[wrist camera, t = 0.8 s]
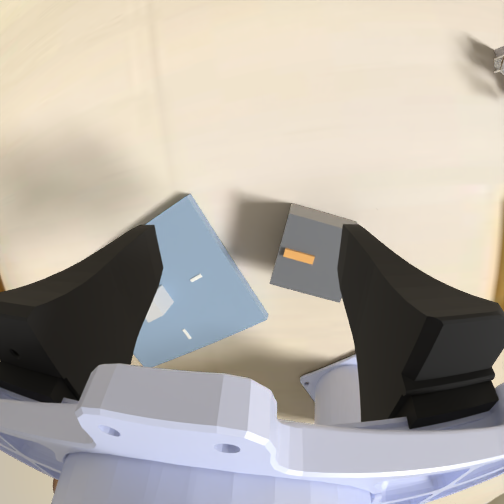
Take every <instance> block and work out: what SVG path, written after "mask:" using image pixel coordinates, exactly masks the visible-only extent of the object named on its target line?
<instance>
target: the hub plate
mask: <svg viewBox="0 0 504 504" xmlns="http://www.w3.org/2000/svg"><path fill="white" fill-rule="evenodd" d="M145 225H155V230H156V235H157V240H158V245H159V249H160V254H161V259H162V263H163V272H162V276H161V279H160V283H159V286H158V289H157V292H156V294H155V297H154V299H153V301H152V304H151V306H150V308H149V311H148V313H147V315H146V318H145V320H144V322H143V325H142V327H141V329H140V332H139V335H138V338H137V341H136V345H135V348H134V352H133V354H134V355H135V357H136V358H137V359H138V360H139V361H140V363H141V364H142V365H143V366H144V367H154V366H157V365H159V364H162V363H164V362H167V361H170V360H172V359H175V358H177V357H180V356H182V355H185V354H187V353H190V352H192V351H195V350H197V349H200V348H202V347H205V346H207V345H209V344H212V343H214V342H217V341H219V340H221V339H224V338H226V337H228V336H231V335H233V334H235V333H238V332H240V331H242V330H245V329H247V328H249V327H252V326H254V325H256V324H258V323H261V322H263V321H265V320H267V317H268V313H267V312H266V310H265V309H264V307H263V306H262V304H261V303H260V301H259V300H258V298H257V296H256V295H255V293H254V292H253V290H252V289H251V287H250V286H249V284H248V283H247V281H246V280H245V278H244V277H243V275H242V273H241V272H240V270H239V269H238V267H237V266H236V264H235V263H234V261H233V260H232V258H231V256H230V255H229V253H228V252H227V250H226V249H225V247H224V246H223V244H222V242H221V241H220V239H219V238H218V236H217V235H216V233H215V231H214V230H213V228H212V227H211V225H210V224H209V222H208V220H207V219H206V217H205V216H204V214H203V213H202V211H201V209H200V208H199V206H198V205H197V203H196V202H195V200H194V198H193V197H192V195H191V194H189V195H187V196H186V197H184V198H183V199H181V200H180V201H178V202H177V203H175V204H174V205H172V206H171V207H170V208H168V209H167V210H165V211H164V212H162V213H161V214H159V215H158V216H157V217H155V218H154V219H152V220H151V221H150V222H148V223H147V224H145Z"/></svg>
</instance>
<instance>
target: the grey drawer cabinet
mask: <svg viewBox="0 0 504 504" xmlns="http://www.w3.org/2000/svg"><path fill="white" fill-rule="evenodd" d="M343 224H357V222H356V221H352V220H349V219H346V218H342V217H339V216H335V215H332V214H329V213H325V212H322V211H318V210H315V209H311V208H308V207H304V206H300V205H297V204H293V203H291V207H290V211H289V215H288V218H287V222H286V226H285V229H284V233H283V237H282V240H281V244H280V247H279V251H278V255H277V258H276V262H275V266H274V269H273V273H272V277H271V281H270V284H273V285H276V286H280V287H283V288H287V289H291V290H294V291H298V292H302V293H305V294H309V295H313V296H317V297H320V298H324V299H328V300H332V301H335V302H339V303H340V301H341V298H342V295H341V291H340V286H339V279H338V272H337V266H338V259H339V251H340V243H341V235H342V227H343Z"/></svg>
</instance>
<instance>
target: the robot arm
mask: <svg viewBox="0 0 504 504" xmlns="http://www.w3.org/2000/svg"><path fill="white" fill-rule="evenodd" d="M162 272H163V263H162V259H161V254H160V249H159V245H158V240H157V235H156V230H155V225H139V226H137V227H135V228H133V229H132V230H130V231H128V232H127V233H125V234H123V235H122V236H120V237H119V238H117V239H116V240H114V241H113V242H111V243H110V244H108V245H107V246H105V247H104V248H102V249H100V250H99V251H97V252H95V253H94V254H92V255H91V256H89V257H87V258H86V259H84V260H82V261H81V262H79V263H77V264H75V265H73V266H71V267H69V268H67V269H65V270H63V271H61V272H59V273H57V274H54V275H52V276H50V277H47V278H45V279H43V280H40V281H37V282H35V283H32V284H29V285H26V286H23V287H20V288H16V289H12V290H8V291H4V292H0V450H1V451H3V452H5V453H6V454H8V455H10V456H12V457H14V458H15V459H17V460H19V461H21V462H23V463H25V464H26V465H28V466H30V467H33V468H34V469H36V470H38V471H40V472H42V473H44V474H46V475H48V476H50V477H53V478H55V479H57V480H58V483H57V486H56V490H55V493H54V496H53V499H52V503H51V504H424V503H427V502H430V501H433V500H436V499H439V498H442V497H445V496H448V495H451V494H454V493H456V492H459V491H462V490H464V489H467V488H469V487H472V486H475V485H477V484H480V483H482V482H484V481H487V480H489V479H492V478H494V477H496V476H499V475H501V474H503V473H504V383H502V384H500V385H498V386H497V387H496V388H494V386H493V384H492V381H491V380H493V379H494V377H495V373H494V371H493V369H492V365H493V364H494V362H495V361H496V359H497V358H498V356H499V355H500V353H501V352H502V350H503V349H504V312H503V310H502V308H501V307H500V305H499V304H498V303H496V302H492V301H489V300H486V299H483V298H479V297H476V296H473V295H470V294H468V293H465V292H463V291H460V290H458V289H455V288H453V287H451V286H449V285H446V284H444V283H442V282H440V281H438V280H436V279H434V278H433V277H431V276H429V275H427V274H425V273H424V272H422V271H421V270H419V269H417V268H416V267H414V266H412V265H411V264H409V263H408V262H406V261H405V260H404V259H402V258H401V257H400V256H398V255H397V254H395V253H394V252H393V251H392V250H390V249H389V248H388V247H386V246H385V245H384V244H383V243H381V242H380V241H379V240H378V239H377V238H375V237H374V236H373V235H372V234H371V233H369V232H368V231H367V230H366V229H364V228H363V227H362V226H360V225H359V224H343V227H342V235H341V243H340V251H339V259H338V266H337V272H338V279H339V286H340V291H341V295H342V299H343V302H344V306H345V310H346V313H347V317H348V320H349V324H350V328H351V331H352V335H353V340H354V345H355V352H356V354H355V355H352V356H350V357H348V358H345V359H343V360H341V361H338V362H336V363H334V364H331V365H329V366H326V367H324V368H321V369H319V370H316V371H314V372H311V373H308V374H306V375H303V376H301V377H300V382H301V384H302V385H303V387H304V388H305V389H306V391H307V392H308V394H309V395H310V396H311V398H312V399H313V401H314V402H315V416H314V424H310V423H302V422H295V421H288V420H282V419H277V401H276V400H275V398H274V395H273V393H272V391H271V390H270V389H268V388H267V387H265V386H263V385H261V384H259V383H258V382H256V381H254V380H252V379H250V378H247V377H242V376H236V375H231V374H226V373H210V372H195V371H183V370H172V369H162V368H153V367H144V366H136V365H130V364H131V360H132V356H133V352H134V348H135V345H136V341H137V338H138V335H139V332H140V329H141V327H142V325H143V322H144V320H145V318H146V315H147V313H148V311H149V308H150V306H151V304H152V301H153V299H154V297H155V294H156V292H157V289H158V286H159V283H160V279H161V276H162ZM306 382H308V383H306Z"/></svg>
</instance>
